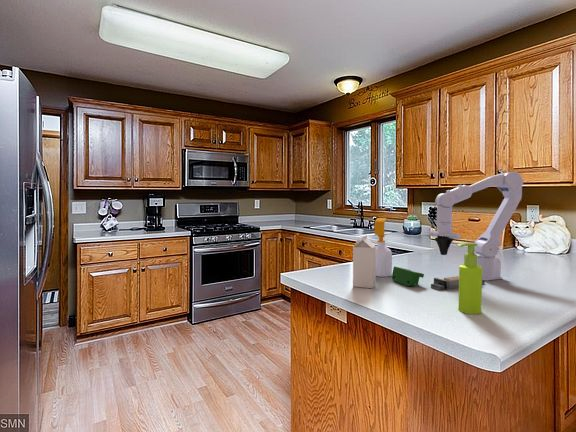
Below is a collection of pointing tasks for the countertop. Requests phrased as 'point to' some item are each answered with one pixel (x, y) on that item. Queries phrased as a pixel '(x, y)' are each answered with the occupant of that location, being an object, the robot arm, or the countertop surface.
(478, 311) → the soap dispenser
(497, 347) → the countertop surface
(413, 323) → the countertop surface
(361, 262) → the milk carton
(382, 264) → the soap bottle
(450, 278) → the light wood block
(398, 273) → the green angular piece
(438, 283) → the chain end blocks
